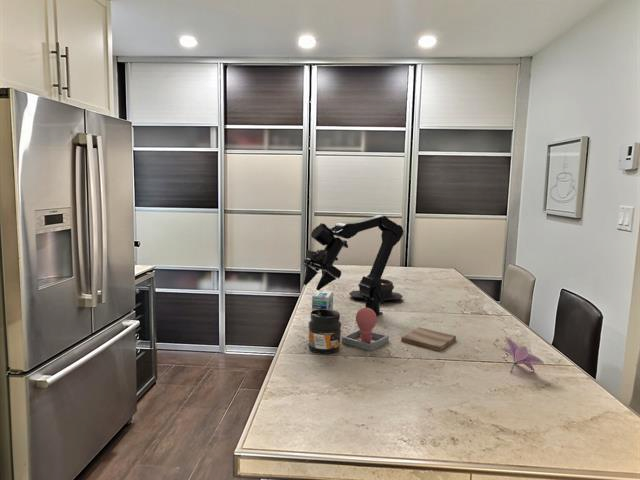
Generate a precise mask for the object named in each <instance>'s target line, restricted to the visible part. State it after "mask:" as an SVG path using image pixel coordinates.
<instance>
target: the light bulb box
mask: <svg viewBox="0 0 640 480" xmlns="http://www.w3.org/2000/svg"><path fill="white" fill-rule="evenodd" d="M311 297H312V298H311V312H312V311H314V310H318V309H330V310H334V291H333V290H324V289H323V290H321V289H320V290H317V289H316V292H314V293H313V295H312V296H311Z"/></svg>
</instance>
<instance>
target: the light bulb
mask: <svg viewBox="0 0 640 480" xmlns="http://www.w3.org/2000/svg"><path fill="white" fill-rule="evenodd" d="M377 317H378V316H376V313H375V312H374V311H373V310H372V309H370V308H365V307H362V308H360V309H359V310H357V312H356V315H355V322H356V324H357V327H358V329H360V333H361V335H360V341H362V342H365V343H370V342H372V339H373V338H372V335H371V333H372V332H373V331H372V330H373V329H374V327H375V326H376V323H377V320H378V318H377Z"/></svg>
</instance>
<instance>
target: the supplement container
mask: <svg viewBox="0 0 640 480" xmlns="http://www.w3.org/2000/svg"><path fill="white" fill-rule="evenodd" d="M309 317H310V318H309V319H310V320H309V321H308V348H309V350H310V351H312V352H314V353H317V354H324V355H326V354H327V355H328V354H333V353H336V352H338V351H339V350H340V348H341V331H342V329H341V328H342V323H341V321H340V319H341V313H340V312H339V311H337V310H334V309H333V310H330V309H318V310H314V311H312V310H311V312H310V316H309Z"/></svg>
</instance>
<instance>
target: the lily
mask: <svg viewBox="0 0 640 480" xmlns="http://www.w3.org/2000/svg"><path fill="white" fill-rule="evenodd" d="M504 338H505V340H506V342H507V343H506V344H507V345H508V347H501V348H500V350H502V351H504V353H507V354H508V355H510V356H512V360H513V365H512V367H511V370H510V373H513V370H514V367H515V365H520V364H523V365H525V367H527V368H528V369H530V371H532V370H533V371H535V368H534V366H533V365H532V363H533V364H545V361H544V360H542V359H541V358H539V357H538V356H536V355H534V354H531V353H530V352H529V349H528V347H527V346H525V345H522V346H519V345H518V343H516V342H515V341H513V340H512V339H511V338H509V337H508V336H504ZM515 363H517V364H515ZM533 371H532V372H533Z"/></svg>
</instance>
